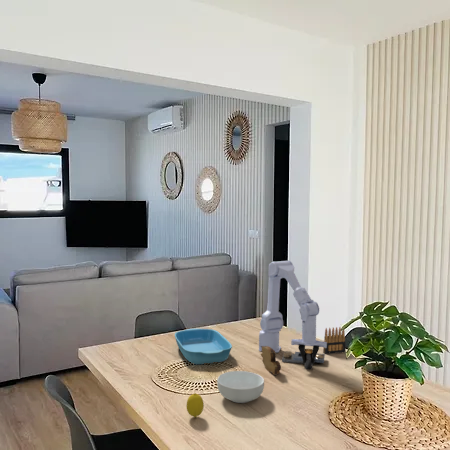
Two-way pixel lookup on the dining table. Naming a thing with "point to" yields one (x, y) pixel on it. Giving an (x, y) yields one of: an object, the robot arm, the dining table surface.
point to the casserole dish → (203, 345)
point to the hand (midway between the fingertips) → (308, 362)
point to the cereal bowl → (240, 386)
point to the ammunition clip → (334, 341)
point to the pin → (308, 359)
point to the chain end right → (318, 358)
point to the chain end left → (290, 358)
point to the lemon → (195, 405)
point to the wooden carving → (270, 360)
